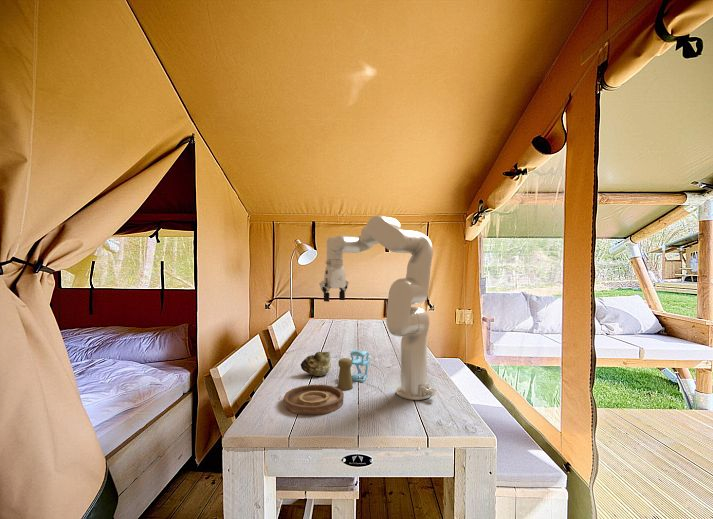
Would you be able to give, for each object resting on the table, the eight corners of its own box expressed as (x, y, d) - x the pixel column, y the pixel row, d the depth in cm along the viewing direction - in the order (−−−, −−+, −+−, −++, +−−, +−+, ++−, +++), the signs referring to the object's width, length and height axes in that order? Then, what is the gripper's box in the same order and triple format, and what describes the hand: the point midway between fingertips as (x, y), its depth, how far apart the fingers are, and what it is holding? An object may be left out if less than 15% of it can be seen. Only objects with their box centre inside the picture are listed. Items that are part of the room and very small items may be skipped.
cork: (344, 383, 132) (344, 355, 132) (356, 387, 128) (356, 358, 128) (333, 388, 127) (334, 359, 127) (345, 391, 123) (345, 362, 124)
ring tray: (355, 402, 113) (355, 395, 113) (307, 421, 99) (307, 413, 99) (319, 387, 128) (319, 380, 128) (272, 402, 114) (273, 394, 114)
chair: (372, 376, 141) (372, 348, 141) (363, 382, 133) (363, 352, 134) (356, 374, 144) (356, 346, 145) (346, 379, 137) (347, 350, 137)
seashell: (314, 369, 151) (314, 347, 151) (335, 373, 145) (335, 350, 145) (299, 375, 142) (299, 352, 142) (320, 380, 136) (320, 355, 136)
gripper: (325, 263, 146) (325, 302, 145) (353, 263, 158) (353, 299, 158) (314, 263, 151) (314, 301, 150) (342, 264, 163) (342, 298, 163)
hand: (334, 300), depth 154 cm, fingers open, 9 cm apart
